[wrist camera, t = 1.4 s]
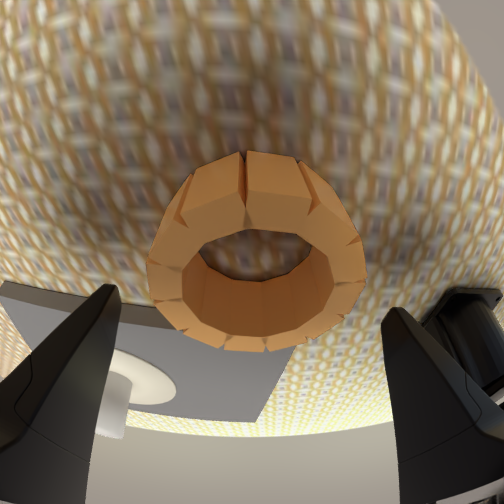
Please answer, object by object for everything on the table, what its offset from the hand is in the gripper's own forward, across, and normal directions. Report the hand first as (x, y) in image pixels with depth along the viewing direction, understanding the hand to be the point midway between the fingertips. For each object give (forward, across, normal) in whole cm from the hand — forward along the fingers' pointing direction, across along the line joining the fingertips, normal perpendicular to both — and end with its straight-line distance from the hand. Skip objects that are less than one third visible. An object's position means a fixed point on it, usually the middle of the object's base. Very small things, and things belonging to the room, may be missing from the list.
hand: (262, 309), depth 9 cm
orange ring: (+4, 0, 0) cm, 4 cm away
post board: (+4, +6, +12) cm, 14 cm away
